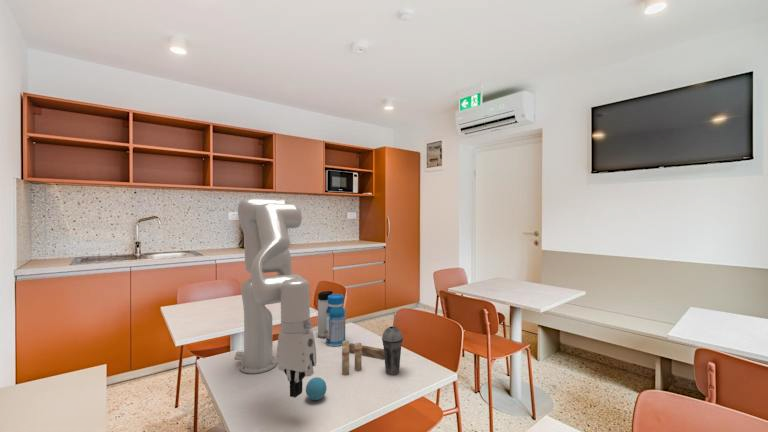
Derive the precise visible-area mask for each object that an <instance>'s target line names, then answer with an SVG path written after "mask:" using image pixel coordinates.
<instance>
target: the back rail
mask: <svg viewBox="0 0 768 432" xmlns="http://www.w3.org/2000/svg"><path fill="white" fill-rule="evenodd" d="M349 354H354V355H355V343H351V342H349ZM362 356H364V357H367V358H374V359H380V360H384V361H385V358H384V348H379V347H373V346H368V345H362Z"/></svg>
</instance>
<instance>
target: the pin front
mask: <svg viewBox="0 0 768 432" xmlns="http://www.w3.org/2000/svg"><path fill="white" fill-rule="evenodd" d="M341 360H342V361H341V375H342V376H348V375H350V353H349V346H343V347H342V346H341Z"/></svg>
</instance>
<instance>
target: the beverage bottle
mask: <svg viewBox="0 0 768 432" xmlns="http://www.w3.org/2000/svg"><path fill="white" fill-rule="evenodd" d="M344 301H345V296H344V295H343V294H341V293H340V294H339V293H332V295H329V296H328V304H329V306H328V308H327V310H326V314H327V316H326V338H325V343H326V345H327V346H331V347H339V346H342V342H343V341H346V320H347V315H346V308H345V306H344V303H345V302H344Z"/></svg>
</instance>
